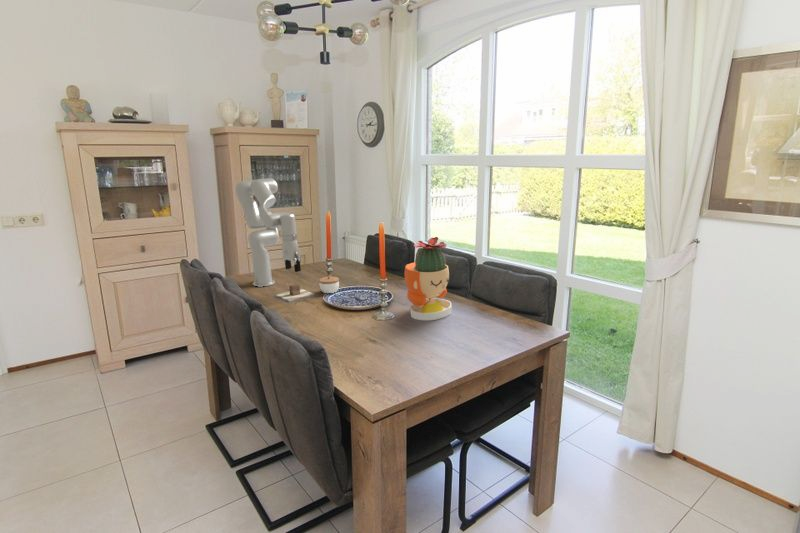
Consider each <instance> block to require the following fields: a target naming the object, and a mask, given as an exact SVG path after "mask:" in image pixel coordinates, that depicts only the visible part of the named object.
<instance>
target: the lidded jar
mask: <svg viewBox="0 0 800 533" xmlns="http://www.w3.org/2000/svg"><path fill="white" fill-rule="evenodd" d="M318 284H319V288H320V289H319V290H320V291H321V292H322V293H323V294H325V293H333V294H335V293H336V292H337V291H338V290H339V287H340V278H339V277H337V276H330V275H328V276H324V277H320V278H319V279H318ZM334 292H335V293H334Z"/></svg>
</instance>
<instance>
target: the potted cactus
mask: <svg viewBox="0 0 800 533" xmlns="http://www.w3.org/2000/svg"><path fill="white" fill-rule="evenodd" d="M438 240H439V237H437V236H435V237H430V238H429V239H427V240H426V242H423V240H418V242H416V243H414V244H413V247H415V248H419V250H417V251H418V252H417V253H416V257H415V259H414V262H411V263H407V264H406V265H405V267H404V275H403V276H404V281H405V285H406V287H407V289H408V290H407V293H406V296H407V300H408V301H409V302H410V303H411V304H412V305H411V306H410V316H411V318H412V319H415V320H418V321H434V320H436V321H437V320H439V319H443V318H445V317H448V316H449V315H450V314H451V313H452V302H451V301H450V300H447V299H443V298H444V297H445V296H447V294H448V290H447V286H448V284H449V281H450V271H449V270H450V269H449V265H447V264H446V257H445V256H444V251H443V252H442V250H441V249H442V248H443V249H444V248H447V244H446V243H445V242H444V241H439V243H438Z"/></svg>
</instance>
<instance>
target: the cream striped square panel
mask: <svg viewBox="0 0 800 533" xmlns="http://www.w3.org/2000/svg"><path fill="white" fill-rule="evenodd" d="M301 289H303V288H301ZM305 290H306V291H308V290H307V289H305ZM310 292H311V291H310ZM311 293H313V292H311ZM314 294H315V295H314V296H310V297H307V298H303V299H299V300H295V301H292V302H288V301H286V300H284V299H281V298H279V297H277V296H276V295H272V297H273V298H275V299H277V300H279V301H282V302H283V303H285V304H287V305H288V304H291V303H295V302H299V301H303V300H307V299H310V298H314V297H317V296H319V294H317V293H314Z"/></svg>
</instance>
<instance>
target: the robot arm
mask: <svg viewBox="0 0 800 533" xmlns="http://www.w3.org/2000/svg"><path fill="white" fill-rule="evenodd" d="M234 189H235V190H234V191H235V195H236V197H237V198H236V199H238V203H240V206H241V208H242V211H243V215H244V219H245V223H246V225H247V227H248V229H252V230H255V231H251V232H250V233H249V234H248V237H247V240H248V244H249V248H250V252H251V257H252V258H251V259H252V267H253V274H254V281H253V282H252V286H253V285H254V286H253V287H255V286H258V287H257V288H264V287H263V286H265V287H269V286H272V285H274V284H275V283H276V281H275V280H274V279H273V278H272V268H271V267H272V266H271V259H270V253H269V251H268V250H267V249H266V248H265V247H269V246H273V245H277V244H278V243H279V242H280V234H279V229H278V228H280V229H281V230H280V232H281V238H282V239H281V240H282V242H281V243H282V245H281V246H282V247H281V248H282V250H281V251H282V258H283V260H284V265H285V266H284V268H285V270H290V269H292V262H293V263H294V265H293V268H294V272H295V273H297V272H301V271H302V270H301V258H302V256H301V255H300V248H299V244H298V233H297V223H296V216H295V214H294V213H289V212H285V211H284V212H283V211H282V212H272V211H270V210H268V209H270V208H271V207H273V206H274V205H275V203H276V200H277V199H276V196H275V195H274V194H276V193H277V192H278V190H279V187H278V182H277V181H276V180H275V178H274V179H273V178H271V177H269V178H258V179H249V180H241V181H239V182H237V183H236V185H235V188H234ZM251 196H254V197H255V198H256V199H257V201H258V202H257V201H256V200H255V199H254V198H252V197H251ZM258 203H259V205H258ZM262 228H265V229H262ZM256 229H260V230H256Z"/></svg>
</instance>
